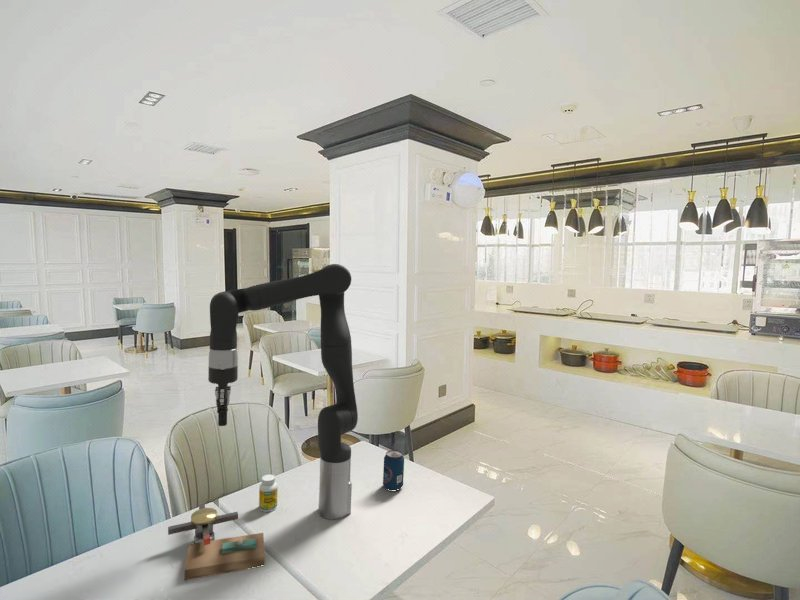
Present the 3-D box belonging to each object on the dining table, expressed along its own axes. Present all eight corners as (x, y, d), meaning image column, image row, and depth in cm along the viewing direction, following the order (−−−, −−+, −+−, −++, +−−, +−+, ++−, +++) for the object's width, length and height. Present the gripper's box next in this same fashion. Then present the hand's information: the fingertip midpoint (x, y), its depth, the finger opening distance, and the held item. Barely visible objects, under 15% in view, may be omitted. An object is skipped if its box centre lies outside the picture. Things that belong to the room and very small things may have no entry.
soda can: (378, 485, 150) (380, 451, 149) (395, 480, 154) (396, 447, 154) (390, 494, 145) (392, 459, 144) (407, 489, 149) (408, 455, 148)
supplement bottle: (274, 501, 138) (274, 471, 137) (279, 509, 133) (280, 479, 133) (256, 505, 135) (257, 475, 134) (261, 514, 130) (262, 483, 130)
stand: (263, 541, 118) (263, 524, 118) (264, 566, 109) (264, 548, 108) (189, 553, 112) (189, 535, 112) (184, 580, 103) (184, 561, 102)
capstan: (167, 529, 121) (167, 505, 120) (233, 515, 129) (233, 492, 128) (168, 569, 105) (168, 541, 105) (242, 550, 114) (243, 524, 113)
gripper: (210, 359, 126) (209, 418, 128) (206, 370, 114) (206, 435, 115) (238, 358, 129) (237, 416, 130) (237, 369, 116) (236, 432, 118)
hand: (222, 424), depth 123 cm, fingers closed
